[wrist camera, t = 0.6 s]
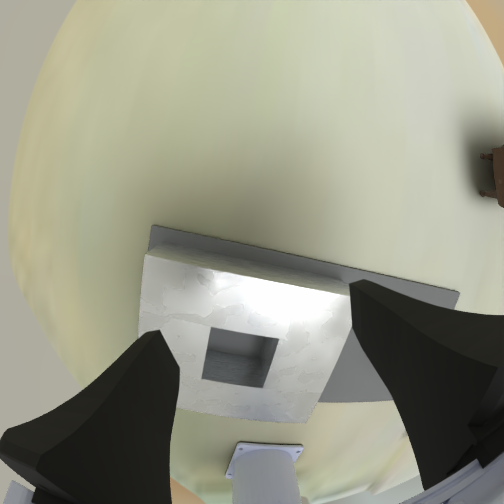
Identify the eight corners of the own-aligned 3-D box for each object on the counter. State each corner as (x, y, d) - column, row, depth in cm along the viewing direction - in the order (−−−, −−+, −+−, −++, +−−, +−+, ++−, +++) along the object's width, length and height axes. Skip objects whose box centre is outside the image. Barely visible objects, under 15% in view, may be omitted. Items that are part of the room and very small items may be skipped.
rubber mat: (406, 396, 25) (408, 398, 25) (140, 371, 22) (139, 374, 22) (457, 291, 22) (460, 292, 22) (153, 224, 19) (151, 225, 19)
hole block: (297, 394, 23) (306, 423, 19) (149, 369, 22) (137, 397, 18) (341, 279, 21) (362, 298, 17) (162, 241, 19) (144, 254, 15)
